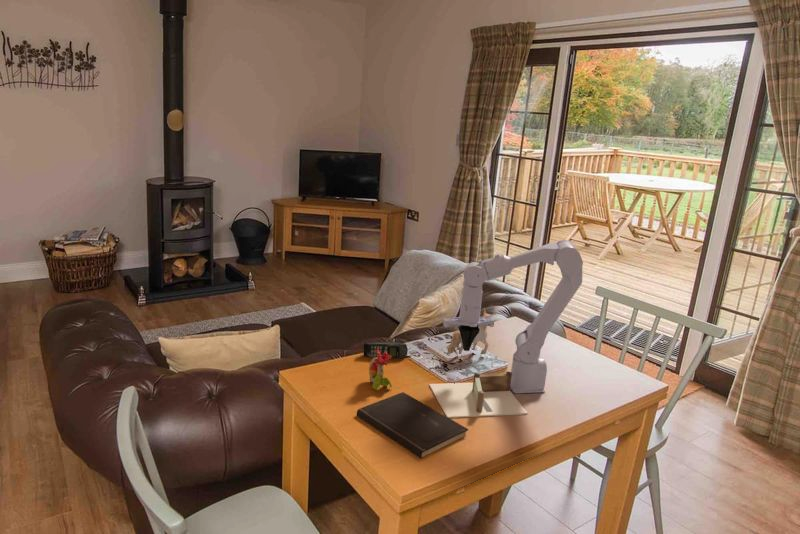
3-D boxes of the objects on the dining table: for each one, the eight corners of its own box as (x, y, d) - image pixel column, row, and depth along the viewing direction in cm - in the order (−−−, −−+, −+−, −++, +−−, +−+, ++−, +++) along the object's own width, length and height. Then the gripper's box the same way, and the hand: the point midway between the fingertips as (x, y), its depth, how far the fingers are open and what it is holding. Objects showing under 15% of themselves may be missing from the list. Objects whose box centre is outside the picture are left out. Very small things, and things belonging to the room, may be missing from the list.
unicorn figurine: (497, 351, 192) (502, 313, 188) (463, 368, 178) (467, 327, 174) (479, 344, 196) (484, 307, 193) (444, 360, 182) (448, 320, 179)
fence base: (508, 388, 166) (510, 371, 164) (510, 390, 164) (512, 374, 163) (471, 389, 163) (473, 372, 162) (473, 392, 162) (475, 375, 160)
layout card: (501, 382, 170) (501, 381, 170) (527, 414, 153) (527, 412, 153) (429, 385, 165) (429, 383, 165) (447, 418, 148) (447, 416, 148)
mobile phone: (363, 344, 178) (412, 344, 180) (363, 340, 181) (411, 340, 183) (363, 358, 180) (411, 359, 181) (363, 354, 183) (410, 355, 184)
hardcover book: (402, 399, 157) (403, 391, 156) (467, 437, 141) (468, 428, 140) (356, 417, 146) (356, 409, 146) (420, 460, 130) (421, 451, 130)
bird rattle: (362, 390, 163) (376, 392, 155) (357, 351, 164) (371, 350, 156) (381, 387, 166) (397, 388, 159) (376, 348, 167) (391, 347, 160)
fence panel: (472, 391, 162) (474, 374, 160) (478, 392, 162) (480, 375, 160) (476, 411, 151) (478, 393, 150) (482, 412, 151) (484, 394, 150)
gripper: (450, 309, 159) (445, 355, 162) (500, 309, 162) (494, 354, 165) (443, 301, 165) (438, 345, 169) (491, 301, 168) (486, 344, 172)
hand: (466, 349), depth 168 cm, fingers closed
